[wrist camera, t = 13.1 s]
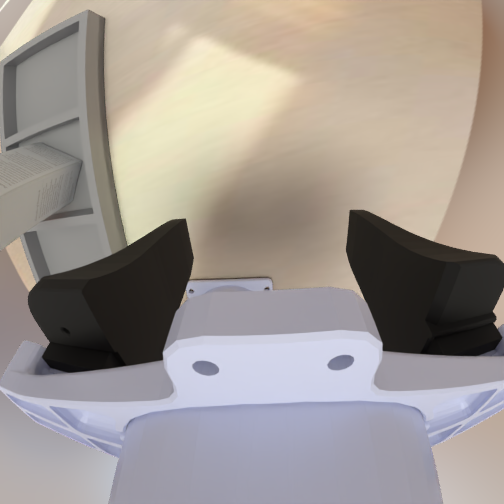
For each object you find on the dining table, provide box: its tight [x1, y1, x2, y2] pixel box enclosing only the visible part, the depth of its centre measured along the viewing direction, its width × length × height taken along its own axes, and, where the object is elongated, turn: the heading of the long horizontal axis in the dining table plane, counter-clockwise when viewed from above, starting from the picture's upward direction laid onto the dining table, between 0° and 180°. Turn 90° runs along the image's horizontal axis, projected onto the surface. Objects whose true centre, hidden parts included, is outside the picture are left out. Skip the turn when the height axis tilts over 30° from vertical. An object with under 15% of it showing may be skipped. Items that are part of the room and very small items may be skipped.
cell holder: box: [0, 10, 127, 283], centre depth 19 cm, size 27×12×3 cm, turn 3°
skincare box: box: [0, 142, 82, 251], centre depth 14 cm, size 6×4×12 cm
